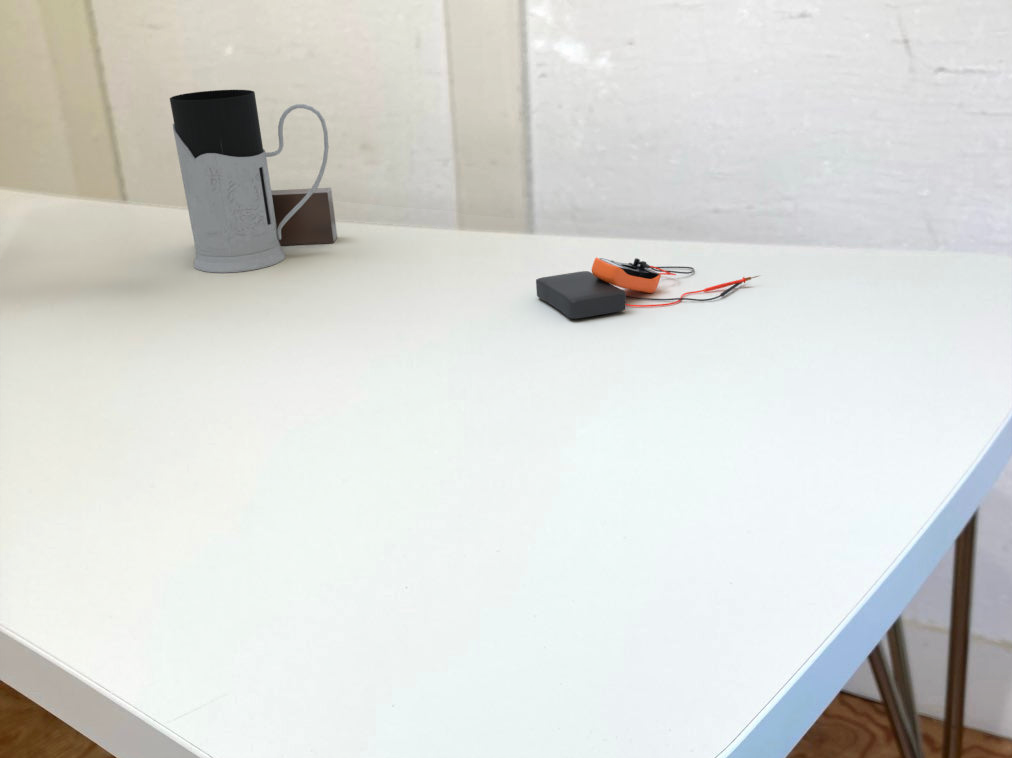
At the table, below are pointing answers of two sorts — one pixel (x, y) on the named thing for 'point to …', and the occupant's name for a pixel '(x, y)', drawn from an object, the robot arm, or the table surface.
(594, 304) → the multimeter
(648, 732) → the table surface
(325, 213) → the bar
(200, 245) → the glass holder
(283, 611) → the table surface
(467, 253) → the table surface
